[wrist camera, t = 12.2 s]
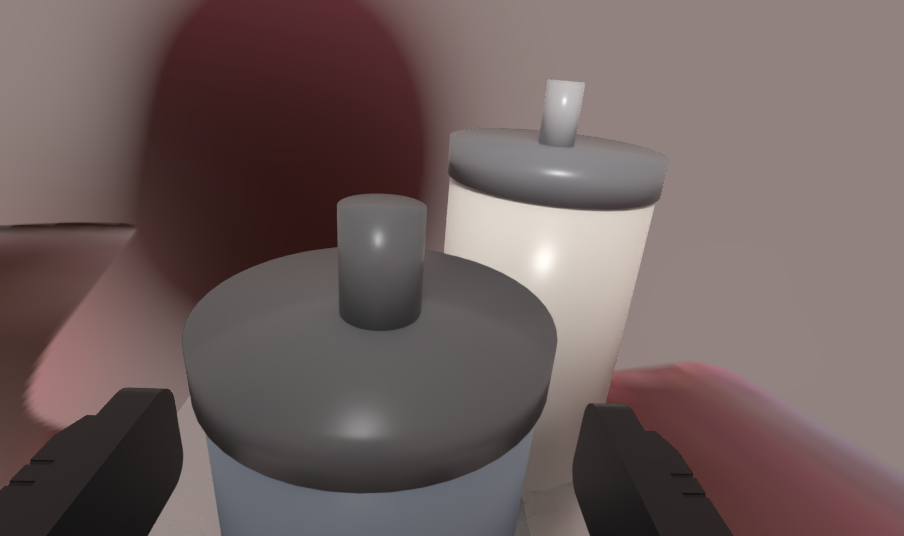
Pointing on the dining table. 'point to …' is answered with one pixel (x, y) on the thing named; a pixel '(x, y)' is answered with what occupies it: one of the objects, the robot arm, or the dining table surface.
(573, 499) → the mounting plate
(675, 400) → the dining table surface
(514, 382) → the grey lidded canister
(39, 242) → the dining table surface
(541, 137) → the white lidded canister
